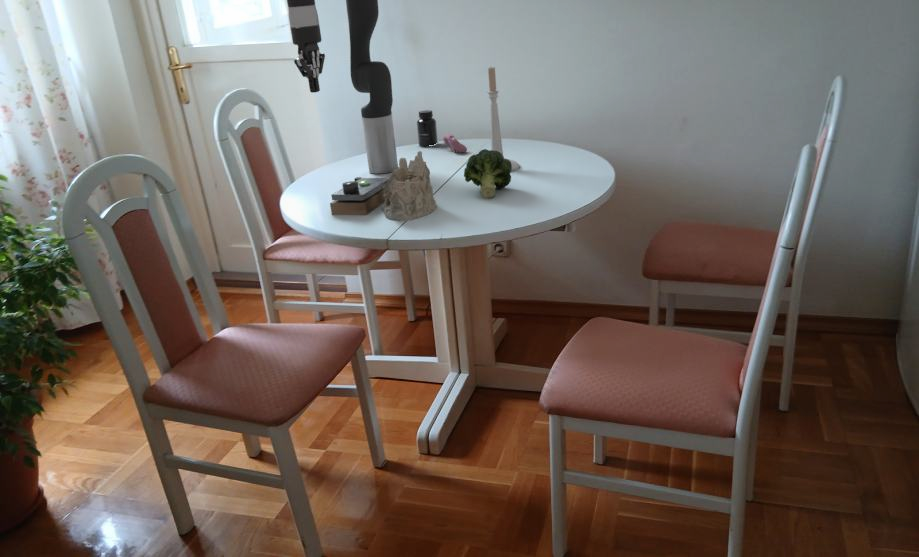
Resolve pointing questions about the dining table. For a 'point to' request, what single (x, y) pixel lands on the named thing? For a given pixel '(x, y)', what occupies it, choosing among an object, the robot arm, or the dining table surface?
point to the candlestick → (496, 118)
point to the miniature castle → (409, 191)
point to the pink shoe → (454, 144)
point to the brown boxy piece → (357, 204)
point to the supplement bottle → (426, 129)
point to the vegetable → (488, 171)
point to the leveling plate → (360, 189)
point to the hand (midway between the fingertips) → (315, 91)
